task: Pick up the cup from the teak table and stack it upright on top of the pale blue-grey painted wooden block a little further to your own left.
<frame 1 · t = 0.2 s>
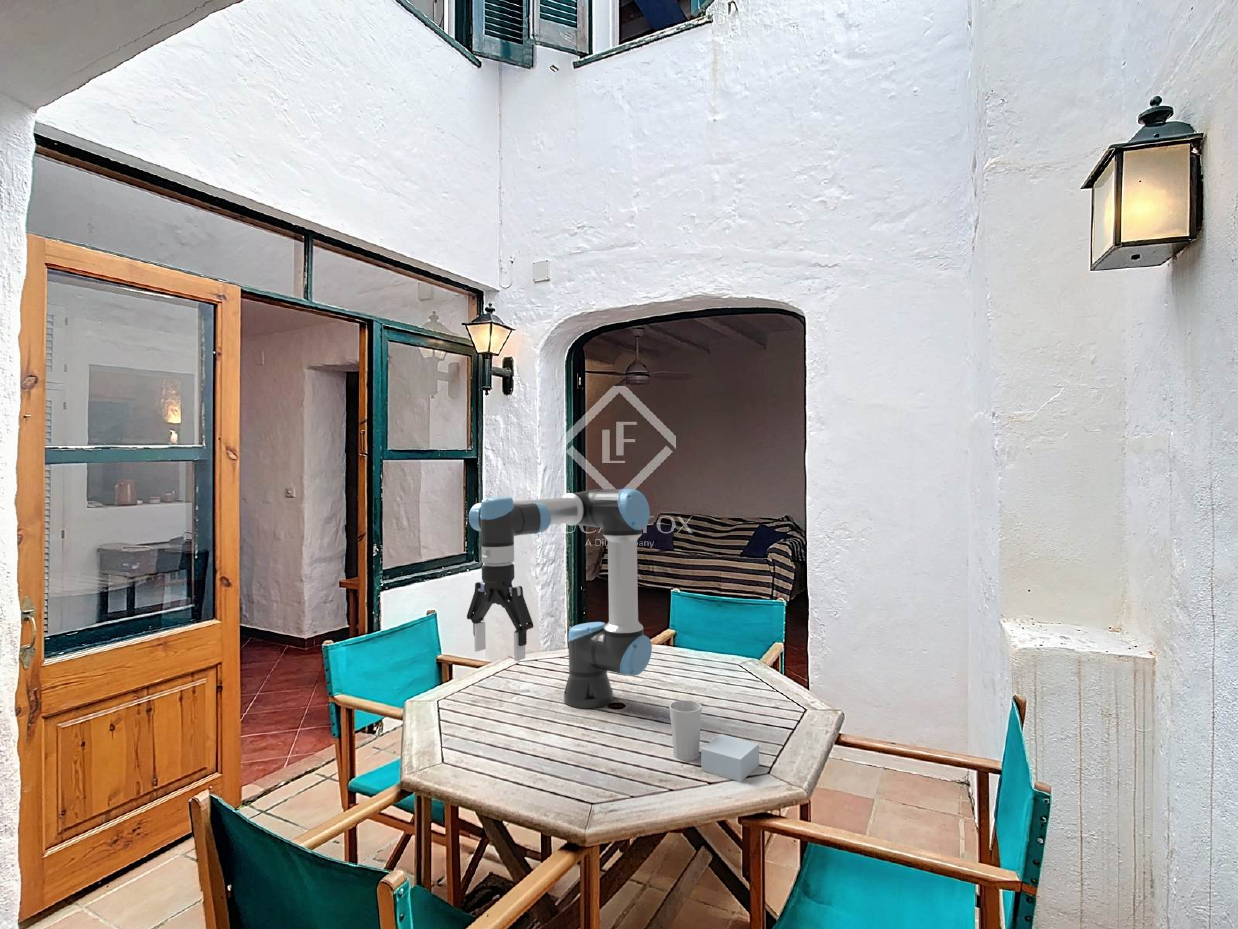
hand: (499, 654, 149), 28 cm above the table, fingers open, 13 cm apart
cup: (686, 755, 157), on the table
pedestal block: (730, 767, 150), on the table
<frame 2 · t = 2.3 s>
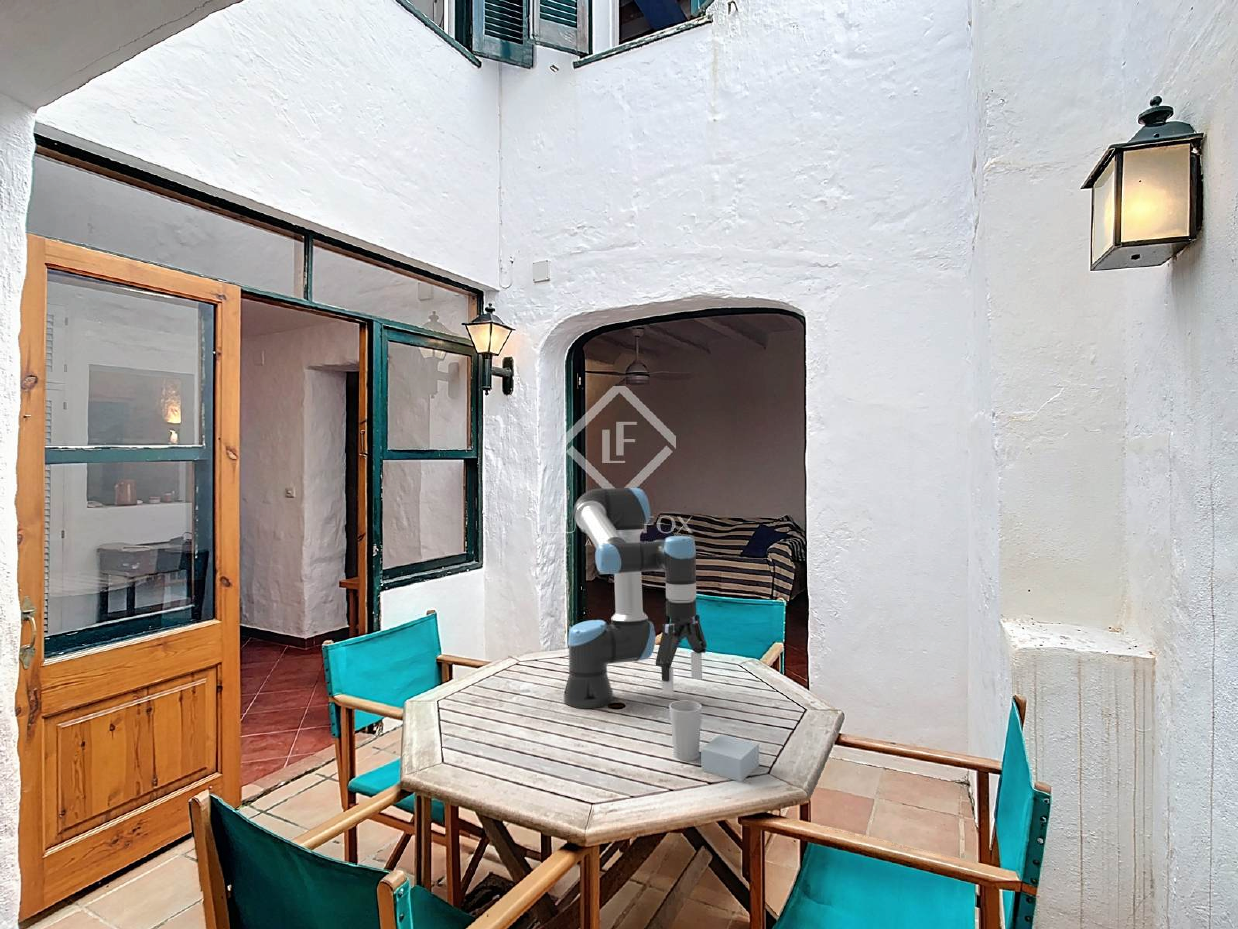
hand: (682, 686, 157), 17 cm above the table, fingers open, 13 cm apart
nothing on the table moved.
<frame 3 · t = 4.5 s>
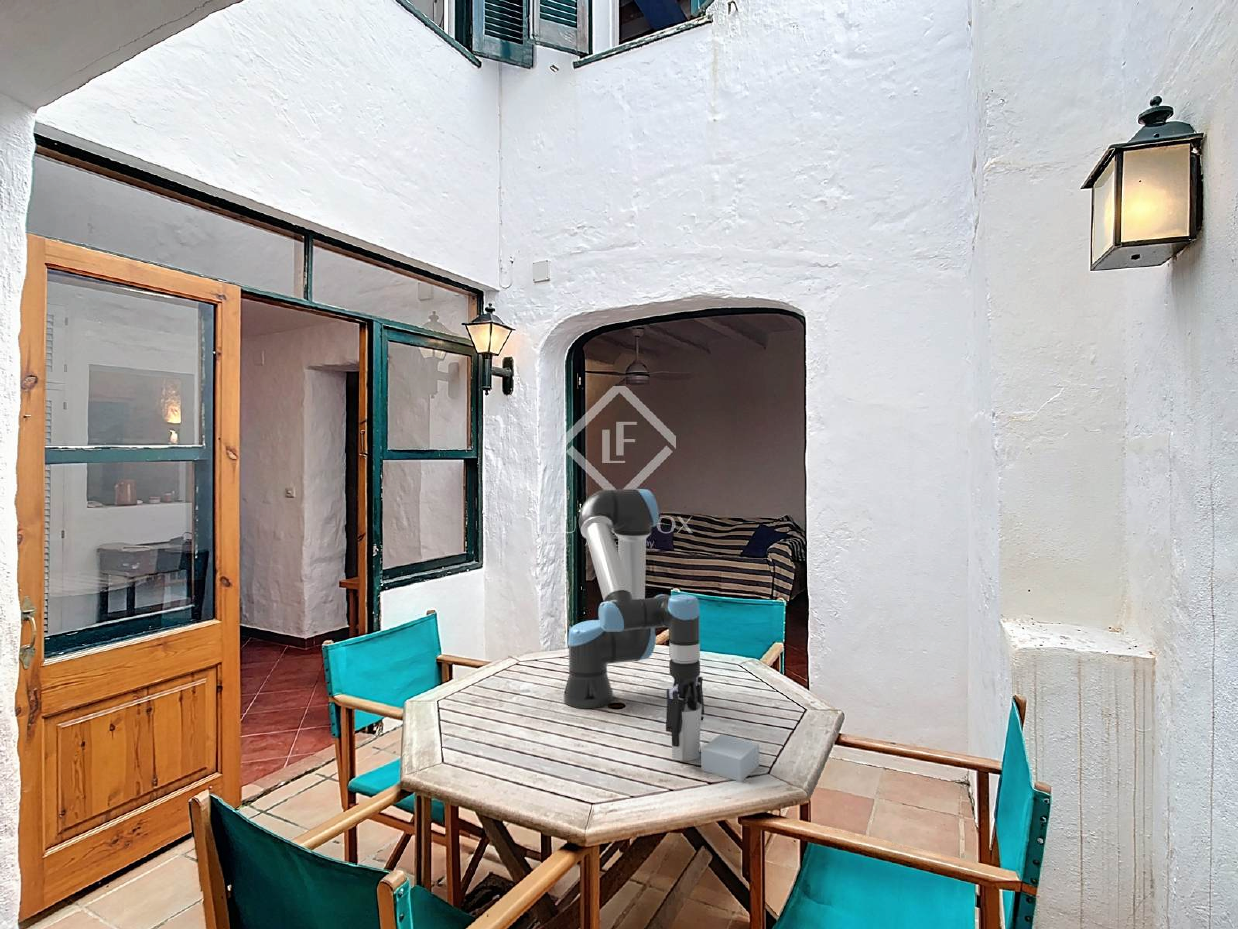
hand: (686, 752, 157), 1 cm above the table, fingers closed on cup, 7 cm apart
cup: (686, 755, 157), on the table, touching gripper
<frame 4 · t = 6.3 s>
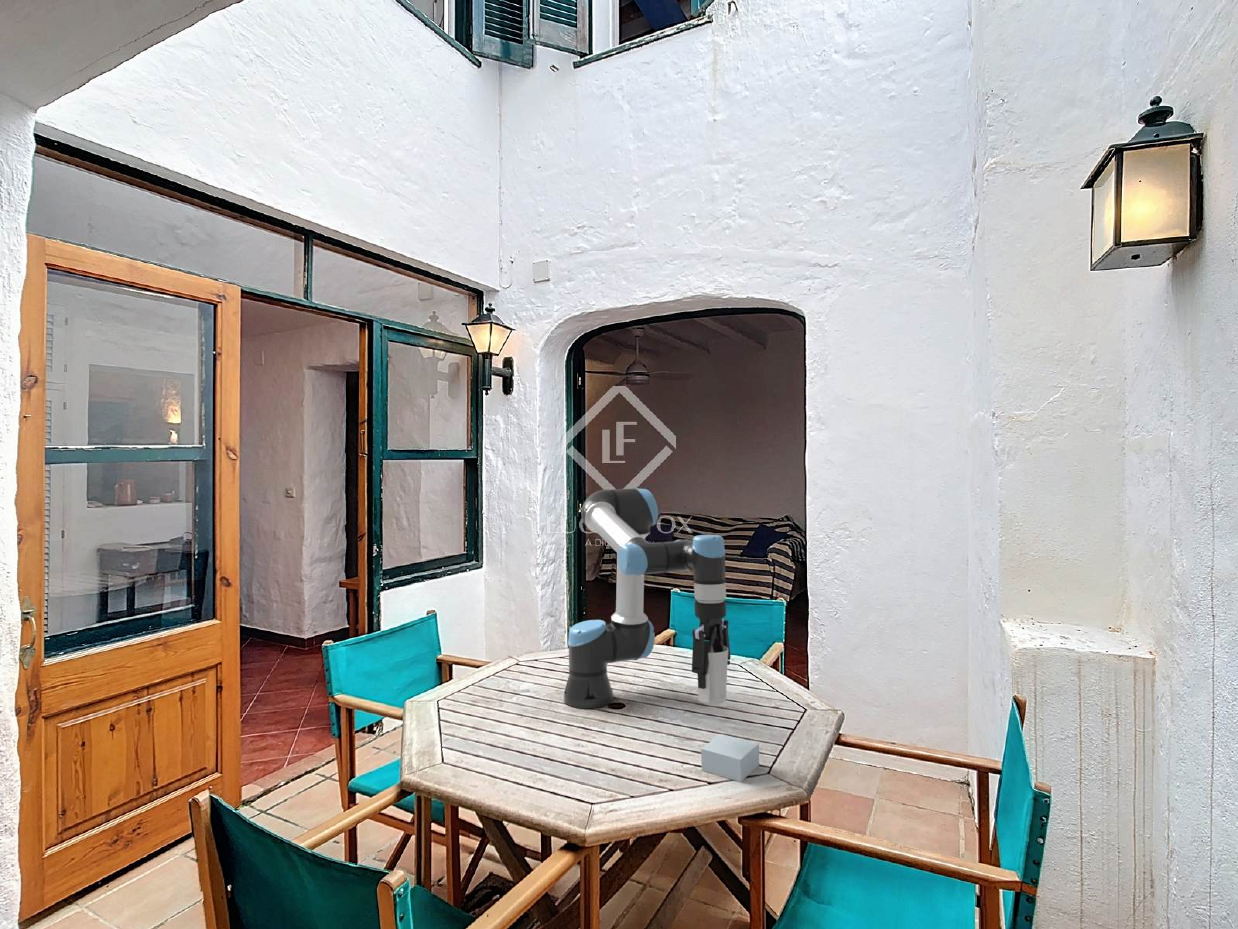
hand: (712, 696, 152), 16 cm above the table, fingers closed on cup, 7 cm apart
cup: (712, 699, 153), point 15 cm above the table, touching gripper
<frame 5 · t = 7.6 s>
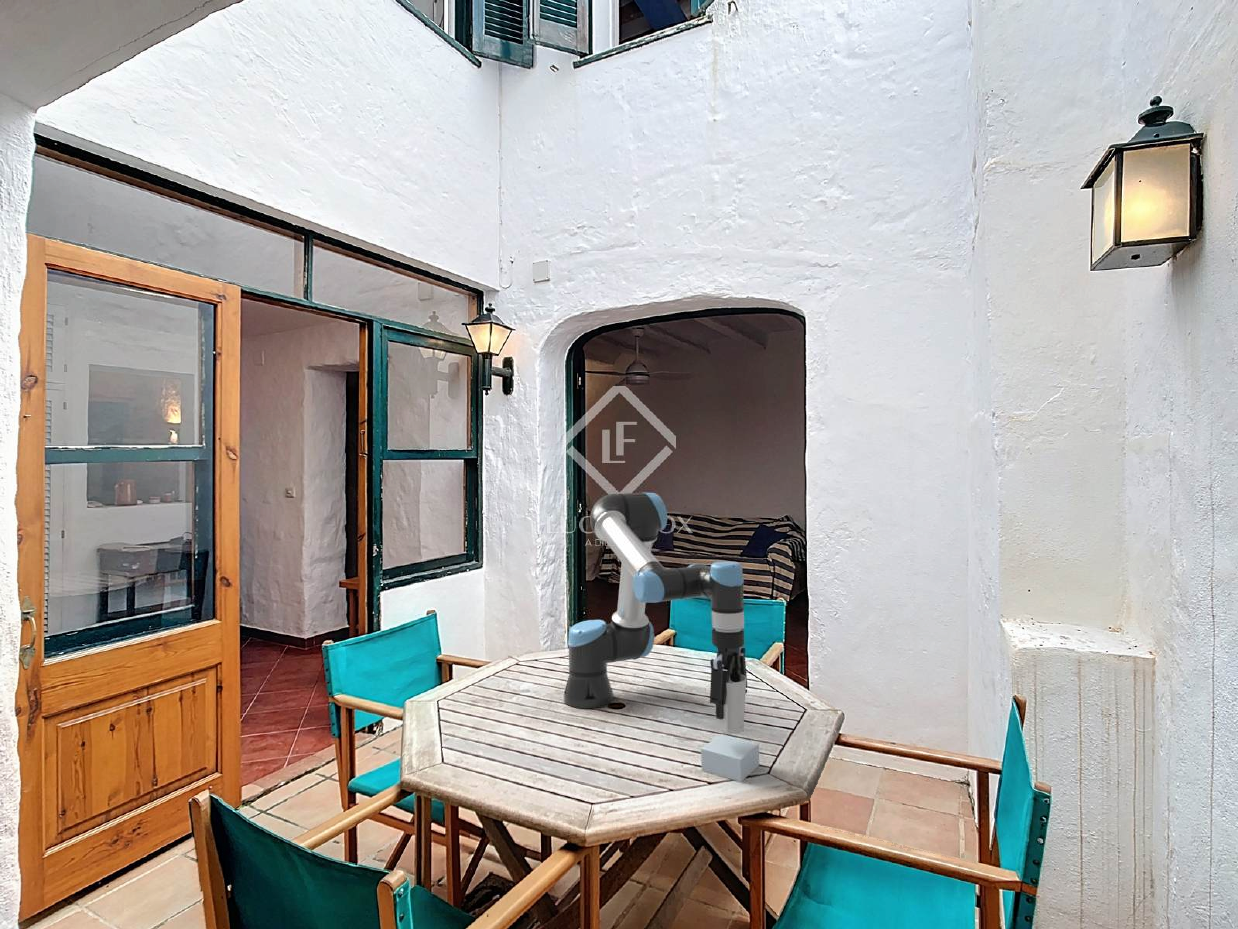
hand: (730, 726, 150), 10 cm above the table, fingers closed on cup, 7 cm apart
cup: (730, 729, 150), point 9 cm above the table, touching gripper
when the fingers open (7 cm above the table, at t = 8.5 s): cup drops 1 cm, resting on pedestal block.
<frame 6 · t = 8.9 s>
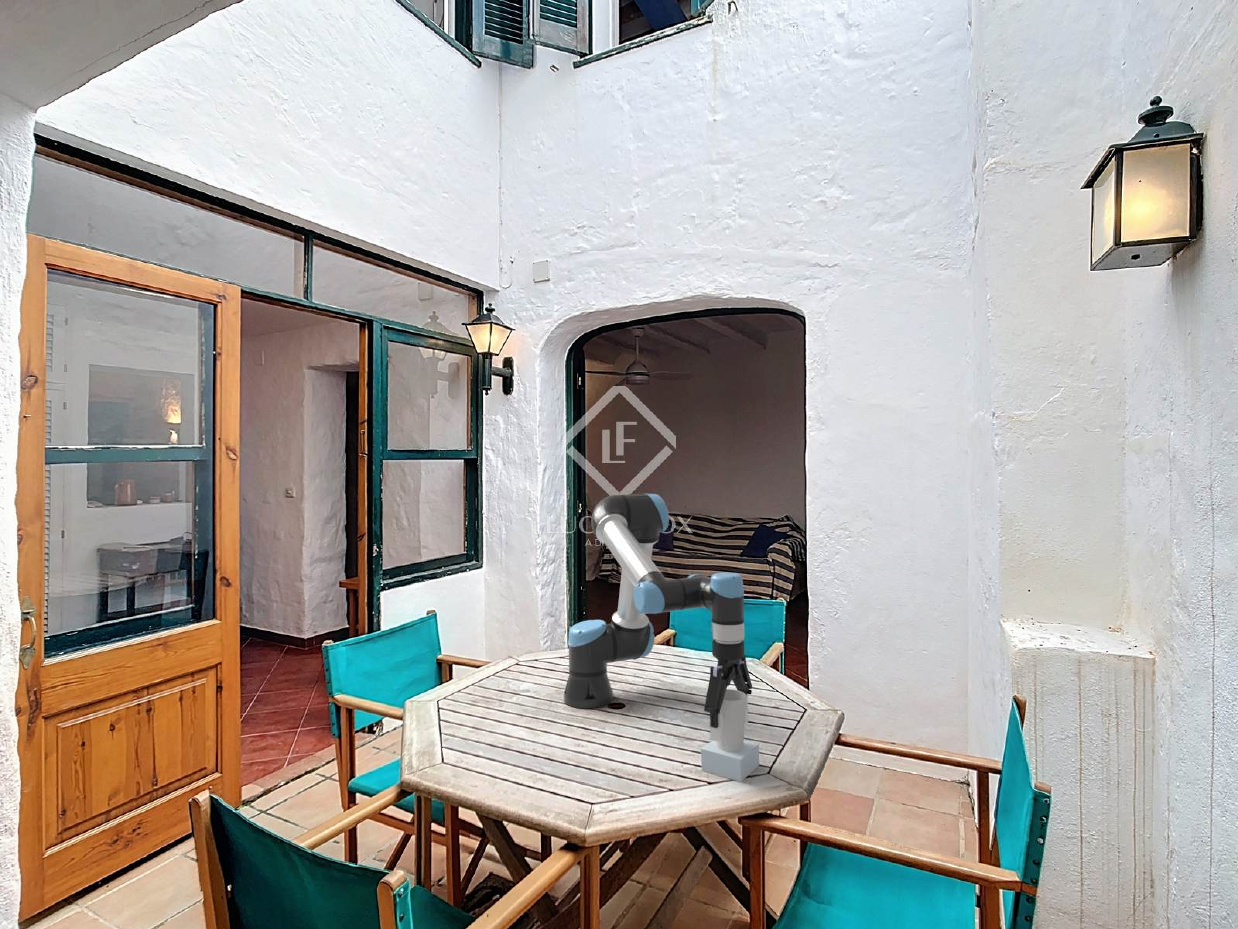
hand: (729, 730, 150), 9 cm above the table, fingers open, 13 cm apart
cup: (730, 747, 150), point 5 cm above the table, touching pedestal block
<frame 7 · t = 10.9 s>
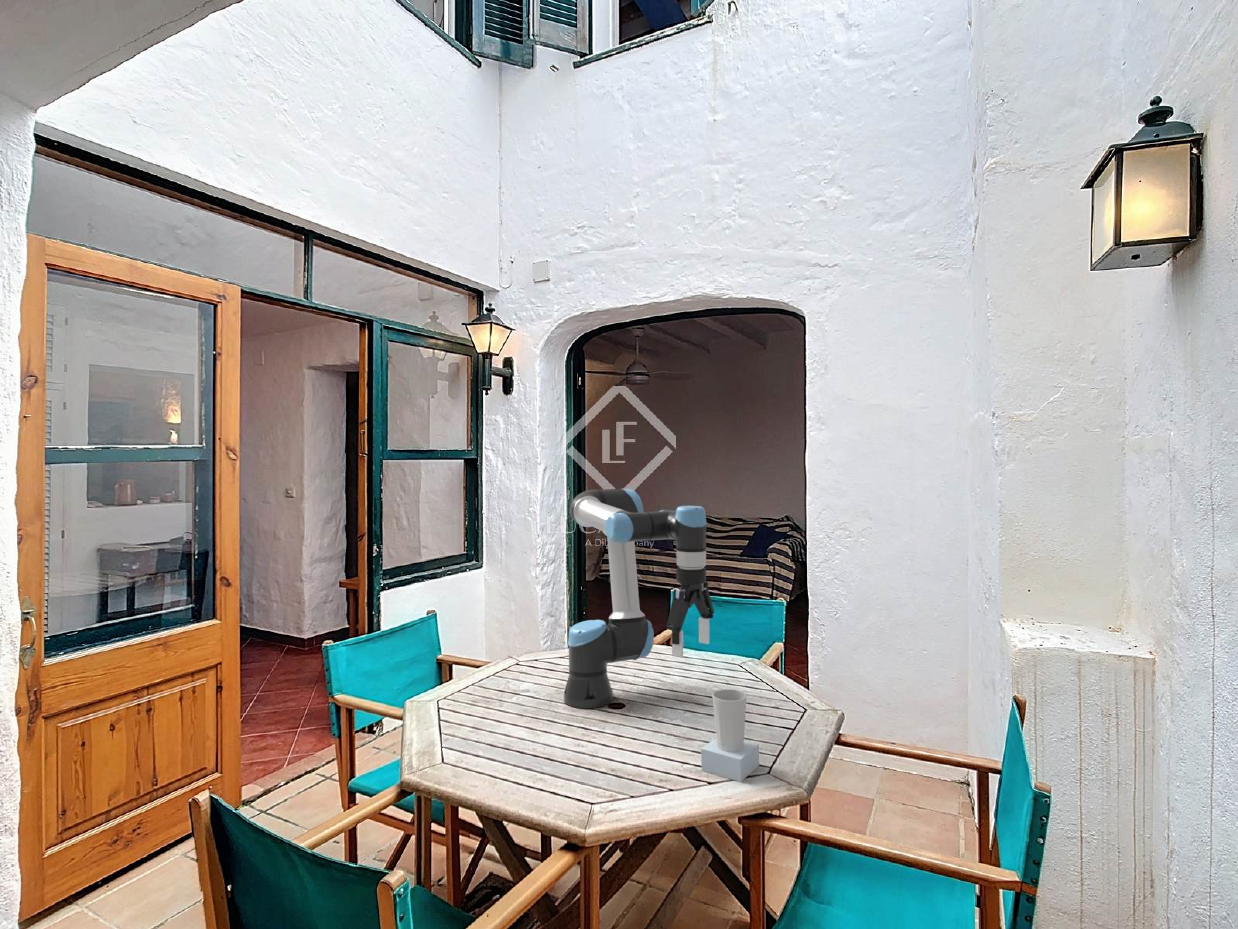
hand: (691, 649, 163), 24 cm above the table, fingers open, 13 cm apart
nothing on the table moved.
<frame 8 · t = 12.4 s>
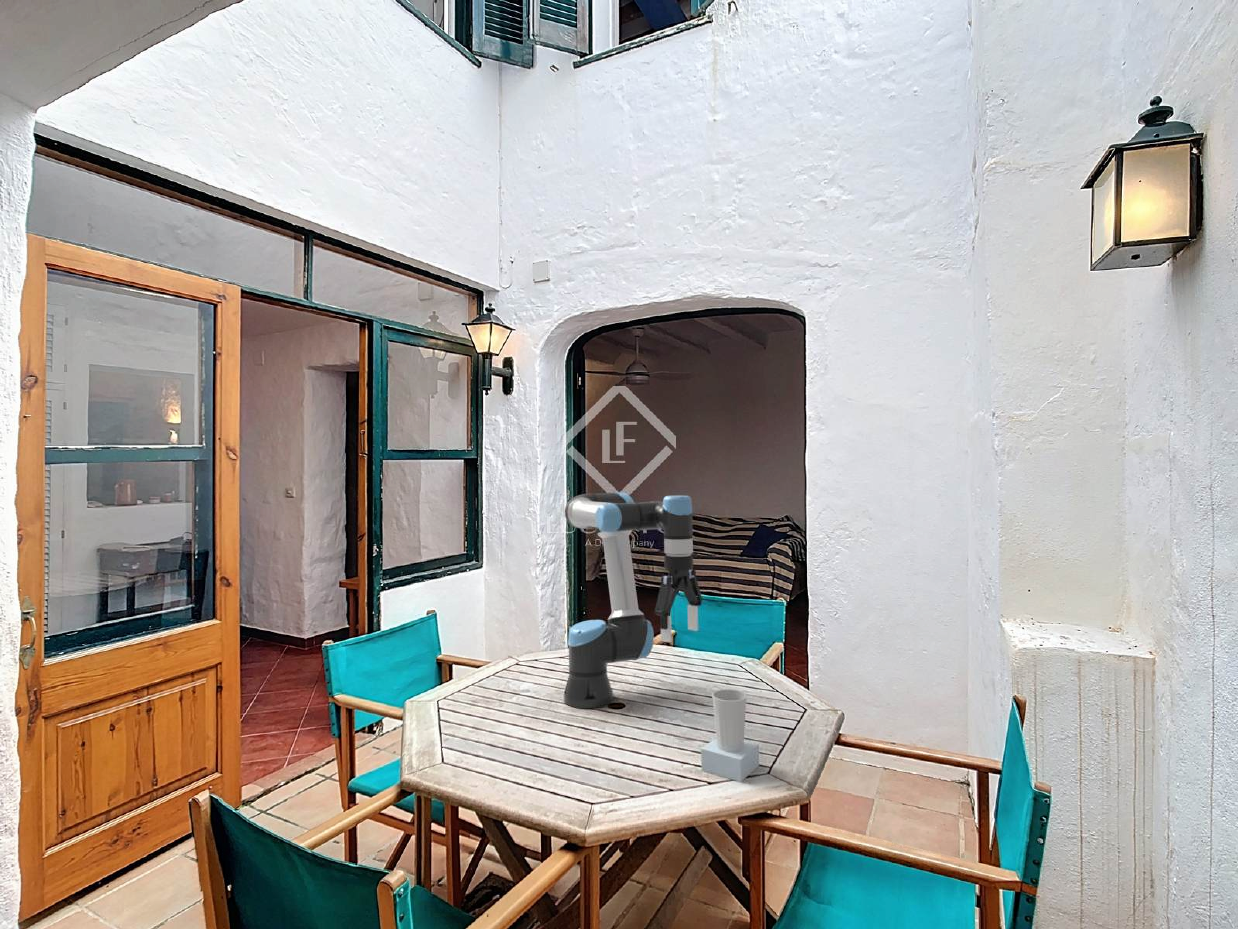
hand: (680, 635, 168), 27 cm above the table, fingers open, 13 cm apart
nothing on the table moved.
at the end: cup inside the target area on the pedestal block (0.0 cm from its centre), point 4.8 cm above the pedestal block's base; cup tilted 0°; the gripper is holding nothing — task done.
